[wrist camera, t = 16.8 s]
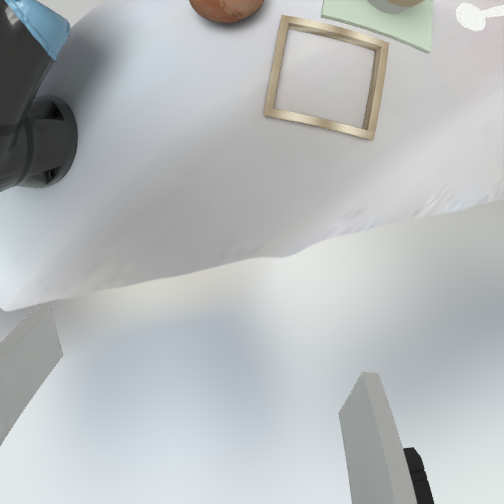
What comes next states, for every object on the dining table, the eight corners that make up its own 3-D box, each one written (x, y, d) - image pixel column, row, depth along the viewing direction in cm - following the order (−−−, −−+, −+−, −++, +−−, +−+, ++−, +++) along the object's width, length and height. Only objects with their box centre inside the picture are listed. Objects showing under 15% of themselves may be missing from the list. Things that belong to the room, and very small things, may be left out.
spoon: (517, 22, 23) (519, 21, 23) (464, 35, 28) (466, 34, 27) (503, -3, 22) (505, -4, 21) (447, 6, 26) (449, 5, 26)
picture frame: (263, 116, 36) (263, 114, 34) (281, 21, 31) (281, 14, 28) (367, 139, 36) (373, 140, 34) (382, 47, 31) (389, 42, 28)
